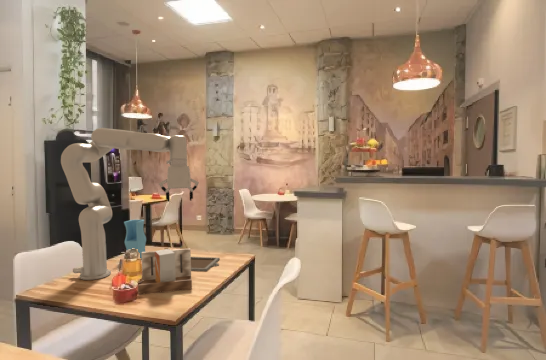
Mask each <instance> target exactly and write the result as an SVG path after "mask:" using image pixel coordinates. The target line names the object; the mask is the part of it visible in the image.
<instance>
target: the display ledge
mask: <svg viewBox="0 0 546 360" xmlns="http://www.w3.org/2000/svg"><path fill="white" fill-rule="evenodd" d="M164 249H169V247H164ZM164 249H163V250H164ZM171 250H172V251H173V252H174V253H175V275H176V281H169V282H158V283H157V282H156V276H155V251H156V250H150V251H146V252H142V253H141V254H142V259H141V272H142V273H141V275H142V276H141V278H142V280H144V281H142V280H141V283H139V284H137V285H138V287H137V288H138V291H137V293H138V295H148V294H158V293H169V292H178V291H179V292H180V291H186V290H187V291H188V290H192V289H193V284H192V283H193V281H192V271H191V257H192V256H191V248H190V247H189V248H180V249H179V248H177V249H171Z"/></svg>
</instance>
